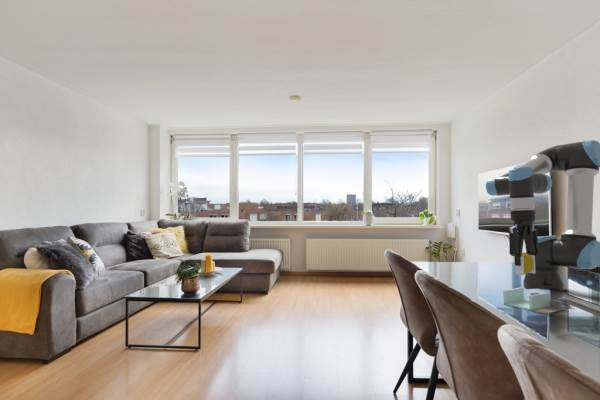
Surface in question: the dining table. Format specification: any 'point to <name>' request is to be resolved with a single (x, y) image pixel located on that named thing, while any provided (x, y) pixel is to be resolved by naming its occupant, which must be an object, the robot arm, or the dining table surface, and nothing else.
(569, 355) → the dining table surface
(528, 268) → the lemon
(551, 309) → the board
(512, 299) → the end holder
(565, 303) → the clip
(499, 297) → the dining table surface
